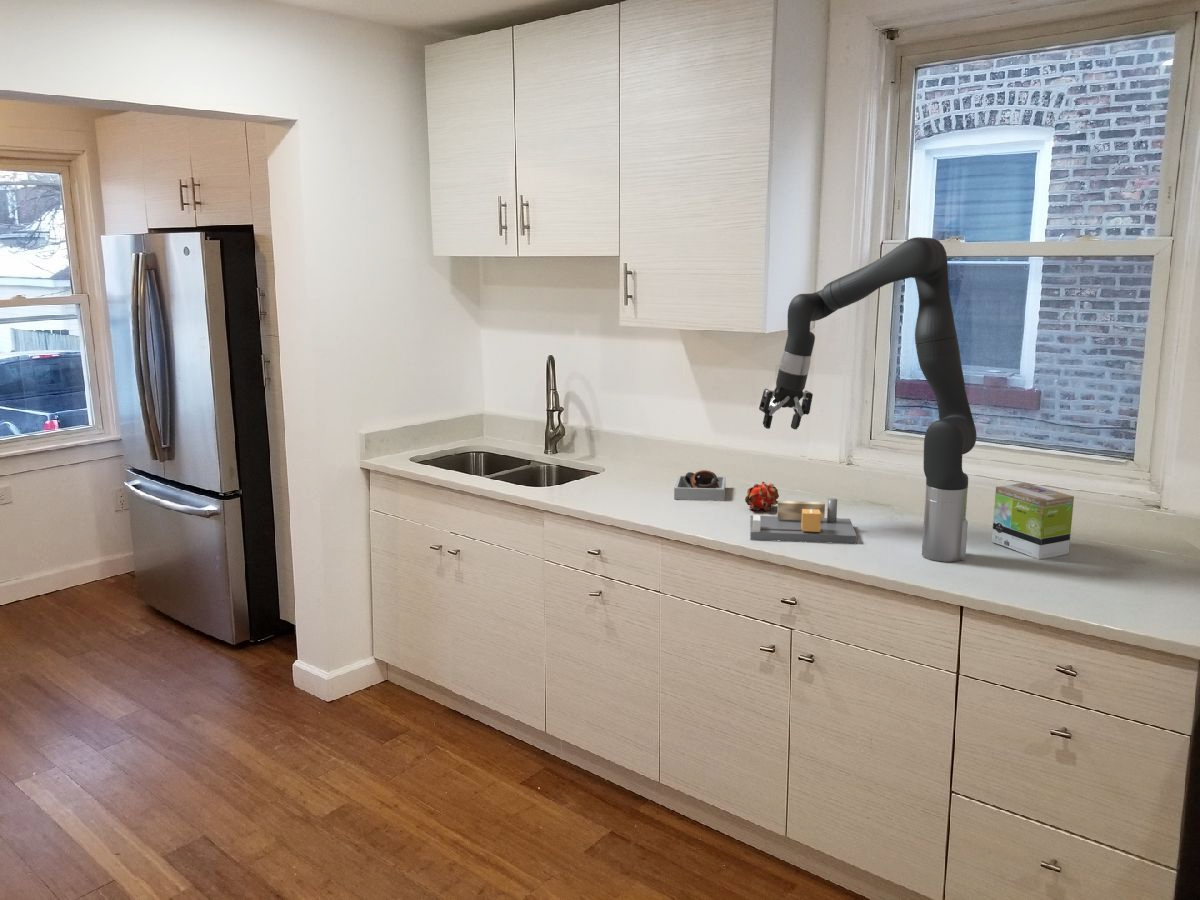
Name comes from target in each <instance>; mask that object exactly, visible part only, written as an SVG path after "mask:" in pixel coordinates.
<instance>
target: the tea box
mask: <svg viewBox="0 0 1200 900" xmlns="http://www.w3.org/2000/svg"><path fill="white" fill-rule="evenodd" d="M1074 500H1075V496H1074V495H1070V494H1066V493H1062V492H1059V491H1055V490H1053V489H1049V488H1046V487H1045V488H1044V487H1042V486H1038V485H1036V484H1035V485H1034V484H1031V483H1028V482H1020V483H1014V484H1013V483H1012V484H1009V485H1001V486H995V495H994V506H993V520H992V538H991V542H992V544H993V543H994V544H997V545H1000V546H1003V547H1006V548H1009V549H1010V550H1013V551H1017V552H1019V553H1020V554H1024V555H1027V556H1029V557H1032V558H1034V559H1037V560H1045V559H1049V558H1056V557H1061V556H1065V555H1068V554H1069V553H1070V552H1069V551H1070V542H1071V532H1072V522H1073V521H1072V520H1073V512H1074Z"/></svg>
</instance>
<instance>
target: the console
mask: <svg viewBox="0 0 1200 900" xmlns="http://www.w3.org/2000/svg"><path fill="white" fill-rule="evenodd" d="M837 517H838V498H833V497H830V498H827V513H826V517H824V521H821V522H820V532H811V531H802V528H801V520H784V519H777V515H775V516H773V515H772V516H771V515H760V514H753V515H750V522H749V523H750V529H749V530H750V531H749V532H750V534H749V535H750V540H751V541H770V540H776V542H778V541H777V540H780V541H779V542H797V541H802V542H803V543H825V542H832V544H852V543H856V544H857V537H858V536H857V534H856V533H857V532H855V531H856V530H855V529H854V528H855V527H854V525H853V523H852V520H851V518H843V517H842V518H837ZM805 541H806V542H805ZM802 542H801V543H802Z"/></svg>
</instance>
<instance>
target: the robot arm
mask: <svg viewBox="0 0 1200 900" xmlns="http://www.w3.org/2000/svg"><path fill="white" fill-rule="evenodd" d="M948 265H949V264H948V255H947V251H946V249H945V247H944V245H943V244H942V242H940V241H939V240H938V239H937V238H936V239H935V238H932V237H923V236H922V237H912V238H909V239H907V240H906V241H904V242H902V243H901V244H899V245H898V246H896V247H894V248H893V249H891V251H890V250H889V252H888V253H886V254H884V255H883V256H881V257H880V258H878V259H876V260H875V261H873V262H871V263H869V264H867V265H865V266H863V267H861V268H859V269H857V270H855V271H852V272H850V273H847V274H846V275H843V276H841V277H839V278H837V279H834V280H833V281H830V282H829V283H827V284H825V285H824V286H823V288H822V289H820V290H819V291H815V292H813V293H800V294H797V295H795V296H794V297H793V298H792V299H791V301H790V303H789V305H788V309H787V338H786V341H785V345H784V350H783V353H782V356H781V359H780V362H779V368H778V373H777V377H776V379H775V380H776V381H775V389H774V390H772V389H768V388H764V389H763V393H762V396H761V399H760V403H759V407H758V409H759V411H761V412H762V413H764V415H763V419H762V425H763V427H764V428H765V429H768V430H770V429H771V427H772V426H771V425H772V421H773V415H774V414H775V413H776V411H780V409H781V408H789V409H792V410H793V412H794V413H793V415H792V419H791V422H790V428H791V429H793V430H798V428H799V427H800V424H801V420H802V417H803V416H805V415H810V412H811V407H812V401H813V397H814V394H813V393H812V392H810V391H809V390H805V389H806V384H807V379H808V375H809V371H810V366H811V363H812V361H811V359H812V355H813V350H814V346H815V341H816V336H815V334H814V333H813V332H812V331H811V322H816V321H819V320H823V319H824V318H826V317H828V316H831V315H832V314H834V313H836V311H838V310H840V309H843V308H845V307H848V306H850V305H852V304H855V303H858V302H859V301H861V300H863V299H865V298H867V297H868V296H870V295H871V294H873V293H874V292H876V291H877V290H879V289H880V288H883V287H884V286H886V285H888V284H891V283H895V282H898V281H902V280H907V279H911V278H912V279H914V280H915V281H914V282H915V284H916V290H917V294H918V312H917V317H916V324H915V329H914V342H915V348H916V353H917V355H916V356H917V359H918V364H919V367H920V369H921V372H922V375H923V376H924V379H925V380H926V381H927V384H928V385H929V386H930V389H931V391H932V393H933V394H934V396H935V400H936V404H937V409H938V411H937V413H938V419H937V420H935V421H934V422H932V423H930V425H928V427H927V429H926V431H925V434H924V440H923V473H924V476H925V496H924V512H923V514H924V515H923V527H922V529H923V530H922V545H921V555H922V556H923V558H926V559H928V560H930V561H931V560H932V561H935V562H936V561H937V562H944V563H948V562H950V563H951V562H959V561H966V554H967V553H966V551H967V541H968V540H967V537H968V523H969V522H968V520H967V519H966V516H967V502H968V488H969V476H968V474H967V473H966V472H964V470H963V455H965V454H967V453H969V452H971V451H972V450H973V449H974V447H975V445H976V441H977V437H978V436H977V430H976V429H977V428H976V425H975V422H974V417H973V414H972V410H971V406H970V403H969V400H968V395H967V390H966V384H965V378H964V373H963V367H962V362H961V361H962V360H961V353H960V347H959V340H958V339H959V338H958V335H957V330H956V323H955V318H954V312H953V311H954V310H953V307H952V301H951V296H950V287H949V286H950V285H949V267H948ZM801 399H802V402H801V403H800V400H801Z"/></svg>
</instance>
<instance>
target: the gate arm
mask: <svg viewBox="0 0 1200 900" xmlns="http://www.w3.org/2000/svg"><path fill="white" fill-rule="evenodd" d="M777 501H778V504H777V512H776V514H777V515H776V516H777V519H784V520H802V509H819V510H820V513H821V521H824V518H825V516H826V515H825V513H826V512H825V511H826V503H825V502H824V501H799V500H798V501H797V500H794V501H793V500H777Z"/></svg>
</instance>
